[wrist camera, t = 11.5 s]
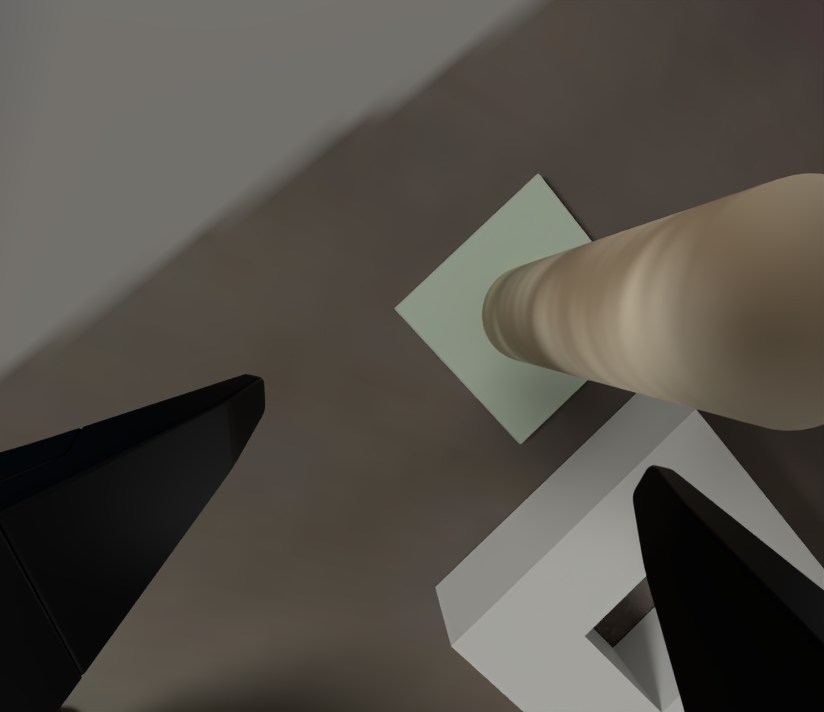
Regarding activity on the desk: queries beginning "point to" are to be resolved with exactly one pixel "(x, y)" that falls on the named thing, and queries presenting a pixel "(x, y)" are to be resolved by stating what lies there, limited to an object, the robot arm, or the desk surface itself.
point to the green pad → (463, 301)
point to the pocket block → (594, 568)
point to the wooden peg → (687, 307)
